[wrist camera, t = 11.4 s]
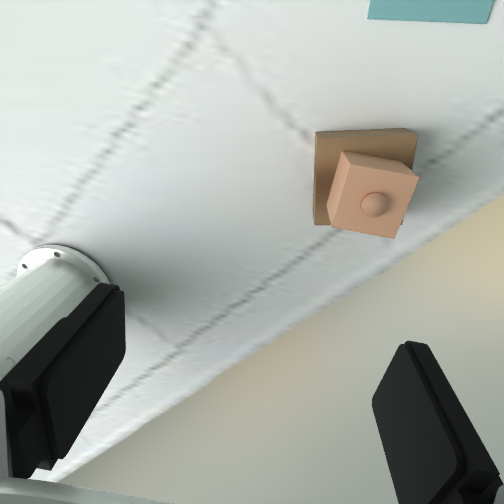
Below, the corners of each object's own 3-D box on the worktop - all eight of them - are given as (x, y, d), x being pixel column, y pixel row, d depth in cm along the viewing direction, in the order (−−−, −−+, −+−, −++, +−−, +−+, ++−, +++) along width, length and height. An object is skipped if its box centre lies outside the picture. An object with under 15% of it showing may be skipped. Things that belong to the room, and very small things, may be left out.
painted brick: (379, 215, 30) (396, 242, 25) (326, 205, 30) (332, 230, 25) (400, 161, 27) (422, 179, 22) (341, 150, 27) (351, 166, 22)
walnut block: (391, 209, 33) (402, 224, 30) (312, 210, 34) (314, 225, 31) (403, 127, 29) (417, 134, 26) (315, 131, 31) (317, 138, 27)
